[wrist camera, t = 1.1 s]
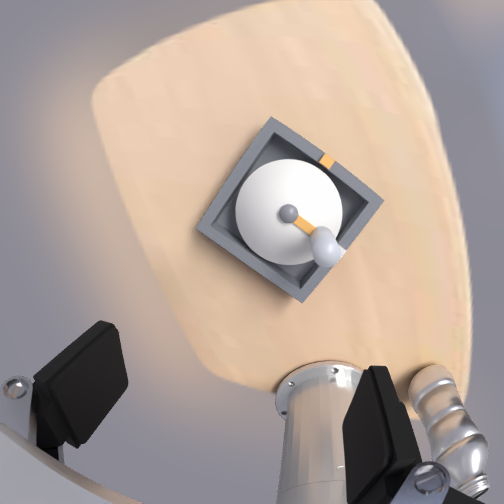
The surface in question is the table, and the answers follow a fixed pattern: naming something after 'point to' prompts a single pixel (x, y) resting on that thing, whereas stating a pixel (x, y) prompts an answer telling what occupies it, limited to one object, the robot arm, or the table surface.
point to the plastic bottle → (450, 430)
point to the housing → (278, 148)
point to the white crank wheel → (290, 214)
